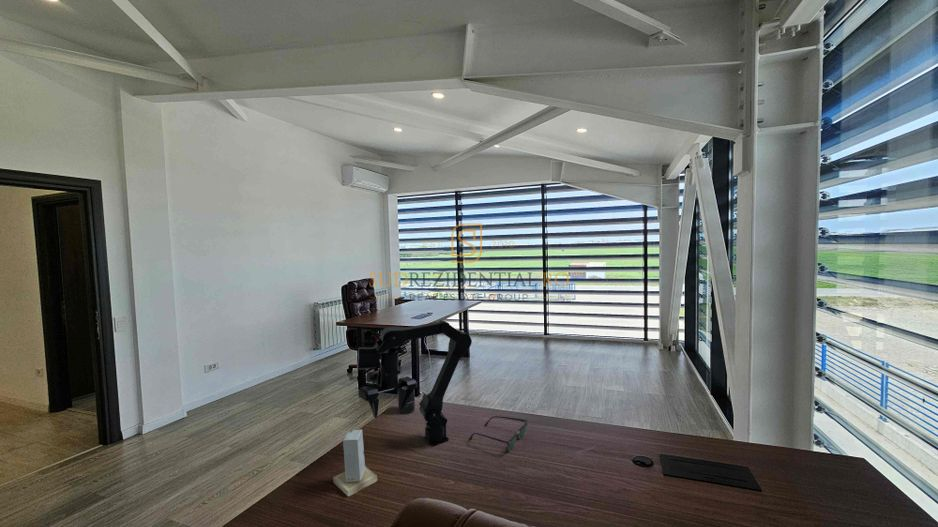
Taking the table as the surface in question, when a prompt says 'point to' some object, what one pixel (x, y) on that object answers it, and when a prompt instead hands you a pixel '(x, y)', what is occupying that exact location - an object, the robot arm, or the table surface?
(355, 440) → the skincare box
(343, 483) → the plinth
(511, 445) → the sunglasses
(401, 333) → the robot arm
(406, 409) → the supplement bottle
